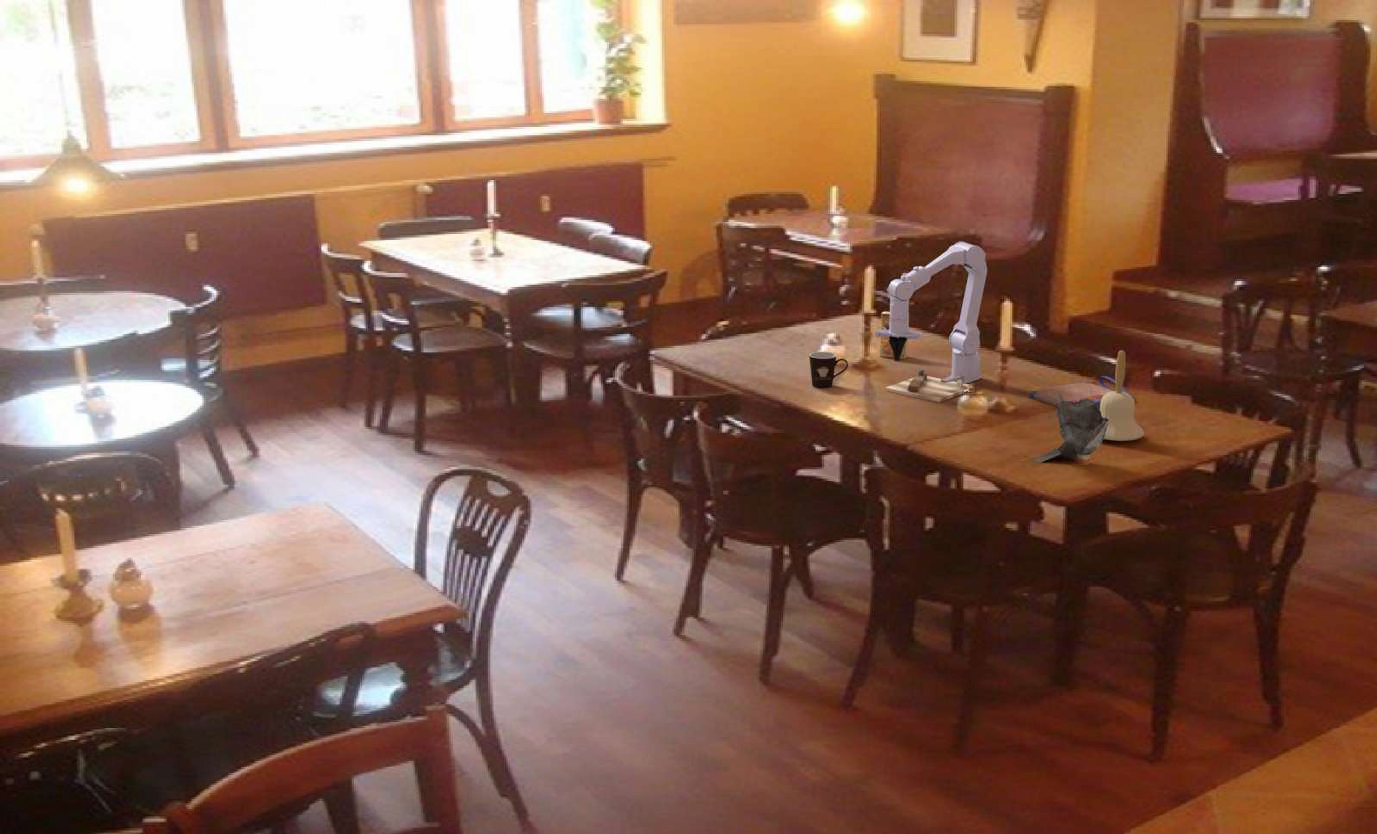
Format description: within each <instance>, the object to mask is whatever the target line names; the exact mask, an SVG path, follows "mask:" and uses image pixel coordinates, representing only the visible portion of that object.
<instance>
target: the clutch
mask: <svg viewBox="0 0 1377 834" xmlns="http://www.w3.org/2000/svg"><path fill="white" fill-rule="evenodd" d="M1103 378H1105V379H1107V380H1110V382H1112V383H1114V384H1115V385H1116V381H1115V379H1113V378H1112V377H1110V376H1106V375H1102V376H1099V378H1098V383H1100V385H1096V384H1094V383H1091V382H1088V381H1087V382H1080V383H1079V382H1078V383H1077V382H1076V383H1069V384H1062V385H1056V386H1052V387H1048V388H1047V387H1046V388H1043V389H1038V390H1034V391H1030V392H1028V396H1029V398H1030V399H1033V400H1034V401H1038V402H1040V403H1043V404H1046V405H1049V406H1051V407H1054V408H1058V405H1059V401H1058V393H1057V390H1058V392H1059V394H1060V395H1061V397H1062V399H1063V400H1064V401H1073V402H1078V401H1079V400H1083V399H1091V400H1093V401H1094V402H1095V403H1096V405H1097V406H1098V408H1100V403H1101V399H1102V397H1103V396H1104V395H1105V394H1107V393H1109V392H1112V391H1115V390H1114V389H1111V388H1110V387H1108V386H1107V385H1106V384H1105V383H1104V381H1103ZM1122 392H1125V393H1128V394H1129V395H1130V396H1132V398H1133V399H1134V401H1136V400H1137V399H1136V398H1135V397H1134V396H1133V395H1132V394H1131V393H1130V392H1129V391H1128V390H1127V389H1126V388H1125V387H1124V386H1123V385H1122Z"/></svg>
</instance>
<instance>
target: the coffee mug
mask: <svg viewBox="0 0 1377 834" xmlns="http://www.w3.org/2000/svg"><path fill="white" fill-rule="evenodd" d="M808 356H809V357H808V358H809V365H810V368H809V369H810V376H811V386H812V387H813V388H816V389H829V388H832V387H833V384H834V383H833V382H834V379H835V378H836V377H838V376H839V375H841V374H843V373H844V372H845V371H846V370H847V369H848V367H849V362H848V360H847V359H845V358H839V359H837V354H836V353H833V352H829V351H816V352H815V351H814V352H811V353H809V355H808ZM841 361H842V362H845V364H846V365H845V367H844V368H843V369H842V370H841V371H839V372H838V373H835V369H836V368H835V367H837V364H838V363H839V362H841Z"/></svg>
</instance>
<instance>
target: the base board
mask: <svg viewBox="0 0 1377 834" xmlns="http://www.w3.org/2000/svg"><path fill="white" fill-rule="evenodd" d="M913 378H914V377H913ZM913 378H908V379H906V380H904V381H900V382H897V383H894V384H892V385H889V386H886V387H885V389H884V390H885V391H886V392H891V393H894V394H895V393H896V394H899V395H902V396H903V395H904V396H908V397H911V398H912V397H913V398H917V399H922V400H927V401H931V402H937V403H942V402H944V401H946V400H949V399H951V398H955V397H957V396H960V395H963V394H965V393H964V390H966V389H967V387H968V386H969V385H970V384H969V383H964V386H963V387H960V386H957V382H956V381H953V382H949V383H943V382H941V379H942V378H938V377H933V376H929V375H927V380H925V381H924V382H923V384H922V385H921V387H920V389H919V390H918V391H908V386H909V384H910V383H911V381H912V380H913Z"/></svg>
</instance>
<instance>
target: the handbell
mask: <svg viewBox="0 0 1377 834" xmlns="http://www.w3.org/2000/svg"><path fill="white" fill-rule="evenodd" d="M1114 374H1115V376H1114V377H1115V379H1114V380H1115V381H1116V384H1115V390H1114V391H1112V392H1109V393H1107V394H1105V395H1104V396H1103V397H1102V399H1101V403H1100V407H1099V409H1100V411H1101V415H1102V417H1103V418H1105V417H1106V418H1107V419H1108V420H1109V423H1108V426H1107V429H1106V432H1105V437H1104V439H1103V440H1109V441H1120V442H1121V441H1134V440H1138V439H1141V438H1142V437H1143V436H1144V435H1145V431H1144V430H1143V428H1142V427H1141V426H1140V425H1139V424H1138V423H1137V422H1136V420H1135V407H1136V403H1135V400H1134V399H1133V398H1132V396H1133V395H1132V396H1130V395H1129V394H1128V393H1125V392H1124V391H1123V390H1122V386H1123V385H1124V381H1125V376H1126V352H1125V350H1119V351H1118V352H1117V359H1116V365H1115V373H1114Z"/></svg>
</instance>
